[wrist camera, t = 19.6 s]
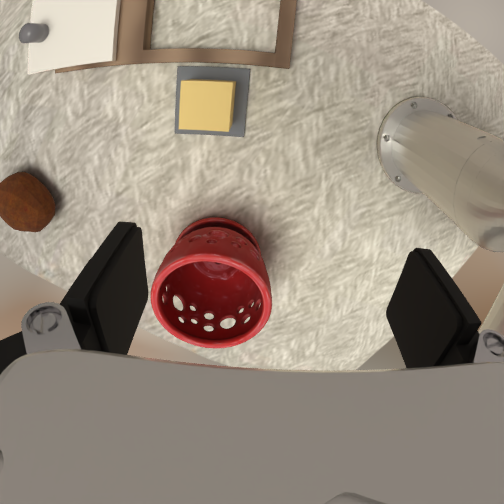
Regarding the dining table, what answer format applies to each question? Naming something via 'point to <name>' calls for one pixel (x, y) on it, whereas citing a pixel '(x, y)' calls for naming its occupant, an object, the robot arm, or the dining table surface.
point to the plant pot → (213, 284)
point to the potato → (25, 202)
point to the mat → (217, 74)
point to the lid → (70, 33)
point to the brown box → (138, 49)
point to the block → (206, 104)
